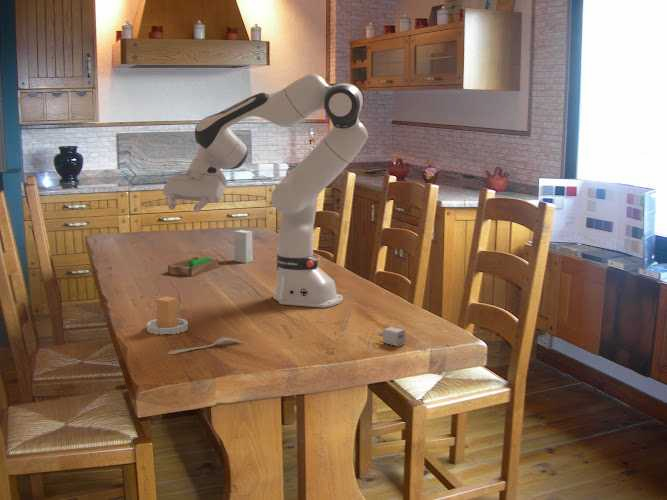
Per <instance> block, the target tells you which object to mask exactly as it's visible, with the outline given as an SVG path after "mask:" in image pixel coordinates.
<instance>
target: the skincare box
mask: <svg viewBox="0 0 667 500" xmlns="http://www.w3.org/2000/svg"><path fill="white" fill-rule="evenodd" d="M233 234H234V235H233V237H234V239H233V242H234V243H233V244H234V245H233V246H234V250H233V251H234V253H233V254H234V262H239V263H244V264H248V263H250V262H253V258H254V257H253V230H251V231H250V230H245V229H244V230H243V229H242V230H241V229H240V230H235V231H233Z"/></svg>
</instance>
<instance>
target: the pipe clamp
mask: <svg viewBox="0 0 667 500" xmlns="http://www.w3.org/2000/svg"><path fill="white" fill-rule="evenodd" d="M210 258H211V257H209V256H207V257H206V258H204V259H202V258H196V260H189V267H193V266H196V265H199V264H202V263H205V262H208V261H210Z"/></svg>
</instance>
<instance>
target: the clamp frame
mask: <svg viewBox="0 0 667 500" xmlns="http://www.w3.org/2000/svg"><path fill="white" fill-rule="evenodd" d="M196 258H202V259H204V258H207V257H203V256H194V257H191V258H186V259H184V260H181V261H177V262H173V263H171V264H168V265H167V272H168V274H170V275H175V276H184V277H194V276H197V275H200V274H202V273H206V272H209V271H212V270H215V269H217V268H219V259H218V258H215V257H214V258H213V257H210V261H208V262H205V263H202V264H199V265H196V266H193V267H189V260H196Z"/></svg>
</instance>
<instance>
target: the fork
mask: <svg viewBox="0 0 667 500" xmlns="http://www.w3.org/2000/svg"><path fill="white" fill-rule="evenodd" d="M226 341H232V342H235V343H239V344H243V342H242V341H240V340H238V339H236V338H231V337H226V336H222V337H219V338H218V339H216V341H215V342H214V343H212V344H208V345H203V346H195V347H187V348H181V349H174V350H170V351H168V353H169V352H170V353H172V354H174V355H176V354H181V353H185V352H190V350H191V351H195V349H196V350H200V349H206V348H210V347H214V346H216V345H219V344H221V343H223V342H226ZM168 353H167V354H168Z"/></svg>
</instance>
